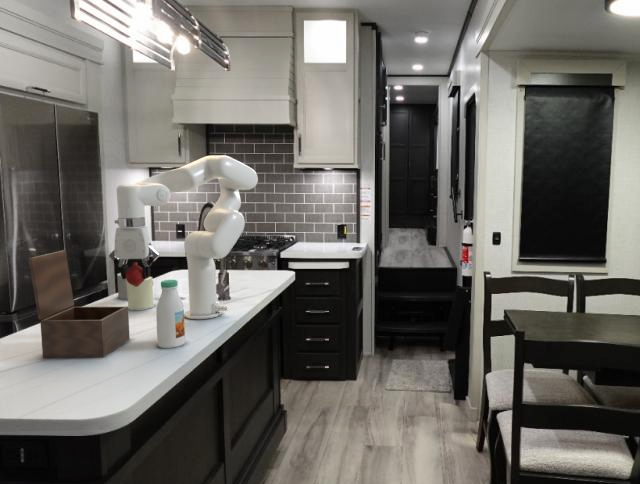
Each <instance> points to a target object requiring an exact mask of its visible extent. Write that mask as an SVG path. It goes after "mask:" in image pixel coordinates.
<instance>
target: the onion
mask: <svg viewBox="0 0 640 484" xmlns="http://www.w3.org/2000/svg"><path fill="white" fill-rule="evenodd" d="M138 264H139V263H138V262H133V263H132V265H131V266H129V267H128V270H127V272H126V280H127V281H128V283H130V284H131V285H133V286H135V287H138V286H139V285H140V284H141V283H142V282H143V281H144V280H145V279H143V269H142V268H143V267H141V266H140V265H138Z"/></svg>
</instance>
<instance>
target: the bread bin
mask: <svg viewBox="0 0 640 484" xmlns="http://www.w3.org/2000/svg"><path fill="white" fill-rule="evenodd" d="M129 319H130V318H129V309H128V306H71V307H69V308H66V309H64V310H62V311H59V312H57V313H55V314H52V315H50V316H48V317H45V318H43V319H40V321H39V323H40V335H41V336H40V337H41V349H42V359H72V358H73V359H78V358H79V359H80V358H82V359H83V358H86V359H87V358H92V359H93V358H105V357H107V356H108V355H109V354H112V352H114V351H116V350H117V349H118V348H120V347H122V346H123V345H124V344H126V343H128V342H130V340H131V337H130V320H129Z"/></svg>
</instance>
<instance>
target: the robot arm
mask: <svg viewBox="0 0 640 484" xmlns="http://www.w3.org/2000/svg"><path fill="white" fill-rule="evenodd" d="M215 179H217V180H218V185H219V191H220V194H219V195H220V196H219V198H218V200H217V201H216V202H215V203H214V205H213V206H212V208H211V209H210V210H209V212H208V213H207V215H206V216H205V218H204V220H203V228H204V229H205V230H206V231H205V230H196V231H192V232H190V233H189V234H188V235H187V236H186V237H185V239H184V245H183V247H184V252H185V256H186V262H187V274H188V275H187V276H188V278H187V279H188V305H189V306H188V308H189V310H188V311H186V312H184V318H186V319H190V320H207V319H212V318H213V319H214V318H216V317H219V316H221V315H222V312H228V311H229V306H228V305H227V304H220V301H219V300H218V299H217V270H216V263H215V260H220V259H223V258H225V257H226V256H228V255H229V253H230V252H231V251H232V249H233V247H235V245H236V243H237V241H238V240H239V238H240V237H241V236H242V234H243V232H244V229H245V226H246V219H245V217H244V215H243V213H241V212H240V211H239V210H240V208H241V205H242V198H241V195H240V191H248V190H252V189H254V188H255V187H256V186H257V184H258V182H259V177H258V173H257V172H256V171H255V169H253V168H252V167H251V166H248V165H247V164H245V163H243V162H241V161H239V160H237V159H235V158H233V157H231V156H229V155H206V156H203V157H201V158H199V159H196V160H194V161H192V162H189V163H188V164H185V165H183V166H180V167H177V168H174V169H171V170H167V171H165V172H161V173H158V174H155V175H152V176H149V177H147V178H145V179H142V180H140V181H138V182H136V183H134V184H132V183H131V184H129V183H128V184H127V183H126V184H119V185H117V187H116V202H117V203H116V204H117V216H118V218H117V219H114V222H113V223H114V224H116V225H117V226H118V227H116V228H115V233H114V248H113V250H112V251H111V252H110V254H109V255H108V257H109V258H110V259H111V260H113V261H114V263H115V264H117V266H118V267H119V268H120V273H121V276H122V279H126V272H127V270H128V269H129V265H128V264H127V263H128V261H129V260H141V262H142V265H143V267H142V269H143V279H147V278H149V277H151V266H152V264H153V263H154V262H155V261H156V260H157V259H158V258H159V257H160V253H159V252H158V251H157V250H155V248H154V247H153V243H152V237H151V233H150V230H149V227H148V226H146V224H147V223H146V209H145V206H146V207H149V206H150V207H162V206H164V205H167V204H168V203H169V201H170V200H171V198H172V194H173V193H182V192H188V191H192V190H194V189H196V188H198V187H200V186H203V185H204V184H206V183H208V182H210V181H212V180H215Z"/></svg>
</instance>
